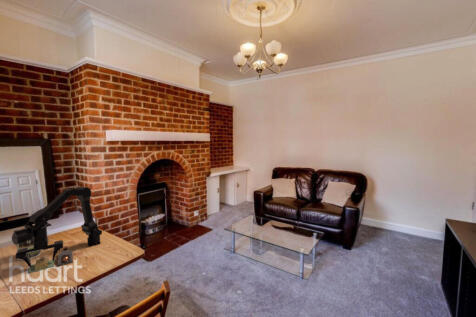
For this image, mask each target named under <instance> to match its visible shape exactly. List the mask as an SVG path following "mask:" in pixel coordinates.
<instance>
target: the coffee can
mask: <svg viewBox="0 0 476 317" xmlns="http://www.w3.org/2000/svg"><path fill="white" fill-rule="evenodd" d="M32 239H33V238H32ZM15 247H16V252H17V251H18V250H19V249H23V248H28V250H29V249H33V248H34V246H33V245H31V240H28V241H25V242H22V243H19V244H16V245H15ZM41 253H42V250H41V251H37V252H32V253H29V257H30V260H32V259H34V258H37V257H39V256H40V255H41ZM17 261H21V262H22V261H24V260H23V259H21V260H20V258H19V259H17Z"/></svg>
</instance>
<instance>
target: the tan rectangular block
mask: <svg viewBox="0 0 476 317" xmlns="http://www.w3.org/2000/svg"><path fill="white" fill-rule="evenodd" d="M49 261H50V260H49V256H47V257H44V256H42V257H40V258H38V259H36V260H35V270H38V269H42V268H45V267H48V263H49Z"/></svg>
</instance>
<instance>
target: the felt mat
mask: <svg viewBox="0 0 476 317" xmlns="http://www.w3.org/2000/svg"><path fill="white" fill-rule="evenodd" d="M35 264H36V263H35ZM35 264H31V267H29V270H28V274H32V273H36V272H39V271H42V270H47V269H50V268H54V267H55V259H54V261H53V260H52V259H51V260H49V263H48V267H45V268H42V269H38V270H35Z"/></svg>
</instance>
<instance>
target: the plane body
mask: <svg viewBox="0 0 476 317" xmlns="http://www.w3.org/2000/svg"><path fill="white" fill-rule="evenodd" d="M57 256H58V258H57V259H58V260H57V267H62V266H66V265H69V264H70V265H71V264H73V263H74V259H73V258H74V257H73V256H74V255H73V250H72V249H71V250H70V249H68V245H65V246H64V245H63V248H62V250H60V252H59V253H58V255H57Z"/></svg>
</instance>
